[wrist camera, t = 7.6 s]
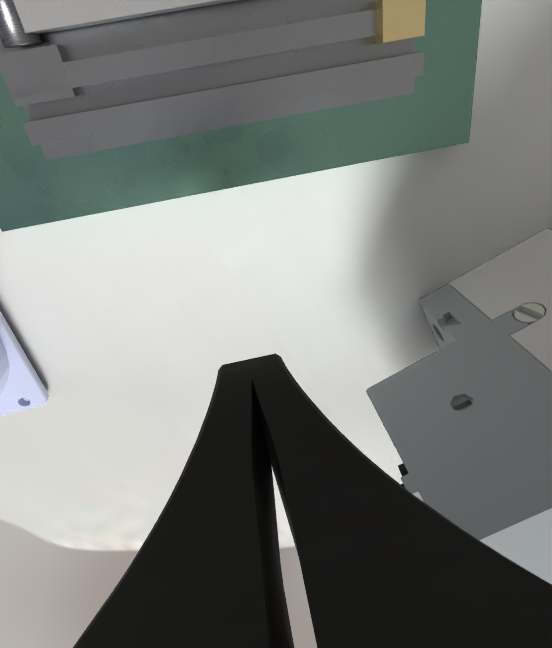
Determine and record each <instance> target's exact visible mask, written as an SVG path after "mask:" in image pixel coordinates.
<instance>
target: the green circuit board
mask: <svg viewBox="0 0 552 648" xmlns="http://www.w3.org/2000/svg"><path fill="white" fill-rule="evenodd" d="M481 4H482V0H237V1H231V2H225V3H219V4H213V5H207V6H201V7H196V8H190V9H184V10H178V11H172V12H166V13H160V14H154V15H149V16H143V17H137V18H131V19H125V20H119V21H113V22H107V23H101V24H96V25H90V26H84V27H78V28H72V29H66V30H60V31H54V32H49V33H43V34H39V37H40V39H41V42H42V43H40V44H36V45H31V46H25V47H17V48H4V46H3V44H2V41H1V39H0V228H1V230H2V231H8V230H13V229H18V228H23V227H29V226H34V225H39V224H44V223H49V222H55V221H60V220H65V219H70V218H76V217H81V216H86V215H91V214H96V213H102V212H107V211H112V210H117V209H123V208H128V207H133V206H138V205H144V204H149V203H154V202H159V201H164V200H170V199H175V198H180V197H185V196H191V195H196V194H201V193H206V192H211V191H217V190H222V189H227V188H232V187H238V186H243V185H248V184H253V183H258V182H264V181H269V180H274V179H279V178H285V177H290V176H295V175H300V174H305V173H311V172H316V171H321V170H326V169H332V168H337V167H342V166H347V165H353V164H358V163H363V162H368V161H373V160H379V159H384V158H389V157H394V156H400V155H405V154H410V153H415V152H420V151H426V150H431V149H436V148H441V147H447V146H452V145H457V144H462V143H467V142H469V135H470V124H471V113H472V102H473V91H474V80H475V70H476V59H477V48H478V37H479V26H480V15H481Z"/></svg>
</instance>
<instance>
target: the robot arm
mask: <svg viewBox="0 0 552 648" xmlns="http://www.w3.org/2000/svg"><path fill="white" fill-rule="evenodd" d="M48 397H49V395H48V392H47V391H46V389H45V387H44V386H43V384H42V382H41V380H40V379H39V377H38V375H37V373H36V372H35V370H34V368H33V367H32V365H31V363H30V361H29V360H28V358H27V356H26V354H25V353H24V351H23V349H22V348H21V346H20V344H19V342H18V341H17V339H16V337H15V336H14V334H13V332H12V330H11V329H10V327H9V325H8V323H7V322H6V320H5V318H4V317H3V315H2V313H1V311H0V416H1V415H5V414H10V413H14V412H19V411H24V410H28V409H33V408H38V407H41V406H44V405H45V404H46V402H47V400H48ZM22 398H26V399H28V400H29V401H25V400H23V399H22ZM272 468H273V471H274V475H275V478H276V482H277V485H278V488H279V492H280V495H281V499H282V502H283V505H284V509H285V512H286V515H287V519H288V522H289V526H290V529H291V532H292V536H293V539H294V543H295V546H296V549H297V553H298V556H299V560H300V565H301V570H302V574H303V579H304V584H305V589H306V594H307V599H308V603H309V608H310V613H311V618H312V623H313V628H314V633H315V638H316V643H317V648H552V584H550V583H548V582H547V581H545V580H543V579H541V578H540V577H538V576H536V575H535V574H533V573H531V572H530V571H528V570H526V569H525V568H523V567H521V566H520V565H518V564H516V563H515V562H513V561H511V560H510V559H508V558H506V557H505V556H503V555H501V554H500V553H498V552H497V551H495V550H494V549H492V548H491V547H489V546H487V545H486V544H484V543H483V542H481V541H480V540H478V539H476V538H475V537H473V536H472V535H470V534H469V533H467V532H466V531H464V530H462V529H461V528H460V527H458V526H457V525H455V524H454V523H453V522H451V521H450V520H448V519H447V518H446V517H444V516H443V515H441V514H440V513H438V512H437V511H436V510H434V509H433V508H431V507H430V506H429V505H427V504H426V503H424V502H423V501H422V500H420V499H419V498H417V497H416V496H415V495H413V494H412V493H410V492H409V491H408V490H407V489H405V488H404V487H403V486H402V485H400V484H399V483H398V482H396V481H395V480H394V479H393V478H391V477H390V476H389V475H388V474H386V473H385V472H384V471H383V470H382V469H381V468H379V467H378V466H377V465H376V464H375V463H373V462H372V461H371V460H370V459H369V458H368V457H366V456H365V455H364V454H363V453H362V452H361V451H360V450H359V449H358V448H357V447H356V446H354V445H353V444H352V443H351V442H350V441H349V440H348V439H347V438H346V437H345V436H344V435H343V434H342V433H341V432H340V431H339V430H338V429H337V428H336V427H335V426H334V425H333V424H332V423H331V422H330V421H329V420H328V419H327V417H326V416H325V415H324V414H323V413H322V412H321V411H320V410H319V408H318V407H317V406H316V405H315V404H314V403H313V402H312V400H311V399H310V398H309V397H308V396H307V395H306V393H305V392H304V391H303V390H302V388H301V387H300V386H299V384H298V383H297V382H296V380H295V379H294V378H293V376H292V375H291V373H290V372H289V370H288V369H287V367H286V366H285V364H284V362H283V360H282V358H281V357H280V356H279V355H277V354H272V355H267V356H262V357H258V358H253V359H248V360H244V361H239V362H234V363H230V364H225V365H222V366H221V367H220V369H219V370H218V376H217V380H216V384H215V388H214V392H213V395H212V398H211V402H210V405H209V408H208V411H207V413H206V416H205V419H204V422H203V424H202V427H201V430H200V432H199V435H198V438H197V440H196V443H195V445H194V447H193V449H192V452H191V454H190V456H189V458H188V461H187V463H186V465H185V467H184V470H183V472H182V474H181V476H180V478H179V480H178V482H177V484H176V486H175V488H174V490H173V492H172V494H171V496H170V498H169V500H168V502H167V504H166V505H165V507H164V509H163V511H162V513H161V514H160V516H159V518H158V520H157V522H156V523H155V525H154V527H153V529H152V530H151V532H150V534H149V535H148V537H147V538H146V540H145V542H144V543H143V545H142V547H141V548H140V550H139V552H138V553H137V555H136V557H135V558H134V560H133V562H132V563H131V565H130V566H129V568H128V569H127V571H126V572H125V574H124V575H123V577H122V578H121V580H120V582H119V583H118V585H117V586H116V587H115V589H114V590H113V592H112V593H111V595H110V596H109V597H108V599H107V600H106V602H105V603H104V605H103V606H102V607H101V609H100V610H99V611H98V613H97V614H96V616H95V617H94V619H93V620H92V621H91V623H90V624H89V626H88V627H87V628H86V630H85V631H84V633H83V634H82V636H81V637H80V638H79V640H78V641H77V643H76V644H75V645H74V647H73V648H294V643H293V638H292V632H291V627H290V620H289V615H288V609H287V603H286V598H285V592H284V587H283V579H282V572H281V563H280V553H279V542H278V531H277V520H276V509H275V497H274V487H273V476H272Z"/></svg>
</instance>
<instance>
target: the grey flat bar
mask: <svg viewBox="0 0 552 648" xmlns="http://www.w3.org/2000/svg"><path fill="white" fill-rule="evenodd" d="M231 1H237V0H0V39H1V41H2V44H3V46H4V48H17V47H25V46H31V45H36V44H40V43H42V42H41V39H40V37H39V34H43V33H49V32H54V31H60V30H66V29H72V28H78V27H84V26H90V25H96V24H101V23H107V22H113V21H119V20H125V19H131V18H137V17H143V16H149V15H154V14H160V13H166V12H172V11H178V10H184V9H190V8H196V7H201V6H207V5H213V4H219V3H225V2H231Z"/></svg>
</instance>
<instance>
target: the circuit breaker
mask: <svg viewBox="0 0 552 648" xmlns="http://www.w3.org/2000/svg"><path fill="white" fill-rule="evenodd" d="M419 302H420V304H421V307H422V309H423V311H424V314H425V316H426V318H427V321H428V323H429V325H430V327H431V330H432V332H433V334H434V337H435V339H436V341H437V343H438V346H439V348H440V350H438V351H436V352H434V353H432V354H431V355H429V356H427V357H425V358H423V359H421V360H420V361H418V362H416V363H414V364H412V365H410V366H408V367H407V368H405V369H403V370H401V371H399V372H397V373H396V374H394V375H392V376H390V377H388V378H386V379H384V380H383V381H381V382H379V383H377V384H375V385H373V386H372V387H370V388H368V389H367V391H366V392H367V394H368V396H369V398H370V400H371V402H372V404H373V406H374V407H375V409H376V411H377V413H378V415H379V417H380V419H381V421H382V423H383V425H384V427H385V429H386V430H387V432H388V434H389V436H390V438H391V440H392V442H393V444H394V446H395V448H396V449H397V452H398V454H399V455H400V457H401V459H402V461H403V464H401V465H399V466H398V467H399V470H400V472H401V475H402V477H401V480H402V482H403V484H401V485H402V486H403V487H404V488H405V489H407V490H408V491H409V492H410V493H412V494H413V495H415V496H416V497H417V498H419V499H420V500H422V501H423V502H424V503H426V504H427V505H429V506H430V507H431V508H433V509H434V510H436V511H437V512H438V513H440V514H441V515H443V516H444V517H446V518H447V519H448V520H450V521H451V522H453V523H454V524H455V525H457V526H458V527H460V528H461V529H462V530H464V531H466V532H467V533H469V534H470V535H472V536H473V537H475V538H476V539H478V540H480V541H481V542H483V543H484V544H486V545H487V546H489V547H491V548H492V549H494V550H495V551H497V552H498V553H500V554H501V555H503V556H505V557H506V558H508V559H510V560H511V561H513V562H515V563H516V564H518V565H520V566H521V567H523V568H525V569H526V570H528V571H530V572H531V573H533V574H535V575H536V576H538V577H540V578H541V579H543V580H545V581H547V582H548V583H550V584H552V230H549V229H547V228H546V229H544V230H542V231H541V232H539V233H537V234H535V235H534V236H532V237H530V238H528V239H526V240H525V241H523V242H521V243H519V244H517V245H516V246H514V247H512V248H510V249H508V250H507V251H505V252H503V253H501V254H500V255H498V256H496V257H494V258H492V259H491V260H489V261H487V262H485V263H483V264H482V265H480V266H478V267H476V268H475V269H473V270H471V271H469V272H467V273H466V274H464V275H462V276H460V277H458V278H457V279H455V280H453V281H451V282H449V284H446V285H444V286H442V287H441V288H439V289H437V290H435V291H433V292H432V293H430V294H428V295H426V296H425V297H423V298H421V299H420V300H419Z"/></svg>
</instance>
